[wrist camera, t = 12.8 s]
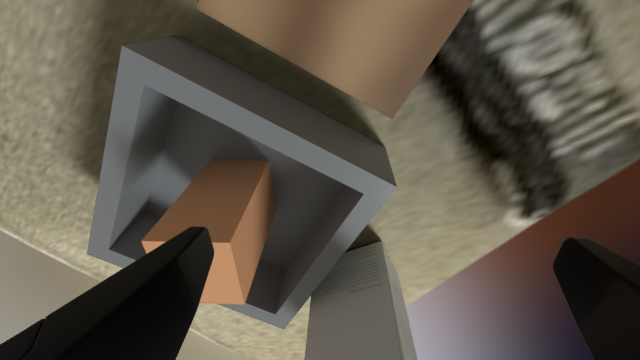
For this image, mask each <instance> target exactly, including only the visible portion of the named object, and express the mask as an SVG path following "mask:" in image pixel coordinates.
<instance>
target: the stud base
mask: <svg viewBox="0 0 640 360" xmlns="http://www.w3.org/2000/svg"><path fill="white" fill-rule="evenodd" d="M472 2H473V0H199V2H198V6H197V10H199V11H201V12H203V13H204V14H206V15H208V16H210V17H211V18H213V19H215V20H217V21H219V22H220V23H222V24H224V25H226V26H228V27H229V28H231V29H233V30H235V31H236V32H238V33H240V34H242V35H244V36H245V37H247V38H249V39H251V40H252V41H254V42H256V43H258V44H260V45H261V46H263V47H265V48H267V49H268V50H270V51H272V52H274V53H276V54H277V55H279V56H281V57H283V58H284V59H286V60H288V61H290V62H292V63H293V64H295V65H297V66H299V67H300V68H302V69H304V70H306V71H308V72H309V73H311V74H313V75H315V76H316V77H318V78H320V79H322V80H324V81H325V82H327V83H329V84H331V85H332V86H334V87H336V88H338V89H340V90H341V91H343V92H345V93H347V94H348V95H350V96H352V97H354V98H356V99H357V100H359V101H361V102H363V103H364V104H366V105H368V106H370V107H372V108H373V109H375V110H377V111H379V112H381V113H382V114H384V115H386V116H388V117H389V118H391V119H393V117H394V116H395V114H396V113H397V111H398V110H399V108H400V107H401V105H402V104H403V103H404V101H405V100H406V98H407V97H408V95H409V94H410V92H411V91H412V89H413V88H414V86H415V85H416V84H417V82H418V81H419V79H420V78H421V76H422V75H423V73H424V72H425V70H426V69H427V67H428V66H429V65H430V63H431V62H432V60H433V59H434V57H435V56H436V54H437V53H438V51H439V50H440V49H441V47H442V46H443V44H444V43H445V41H446V40H447V38H448V37H449V35H450V34H451V32H452V31H453V30H454V28H455V27H456V25H457V24H458V22H459V21H460V19H461V18H462V16H463V15H464V13H465V12H466V11H467V9H468V8H469V6H470V5H471V3H472Z"/></svg>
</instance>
